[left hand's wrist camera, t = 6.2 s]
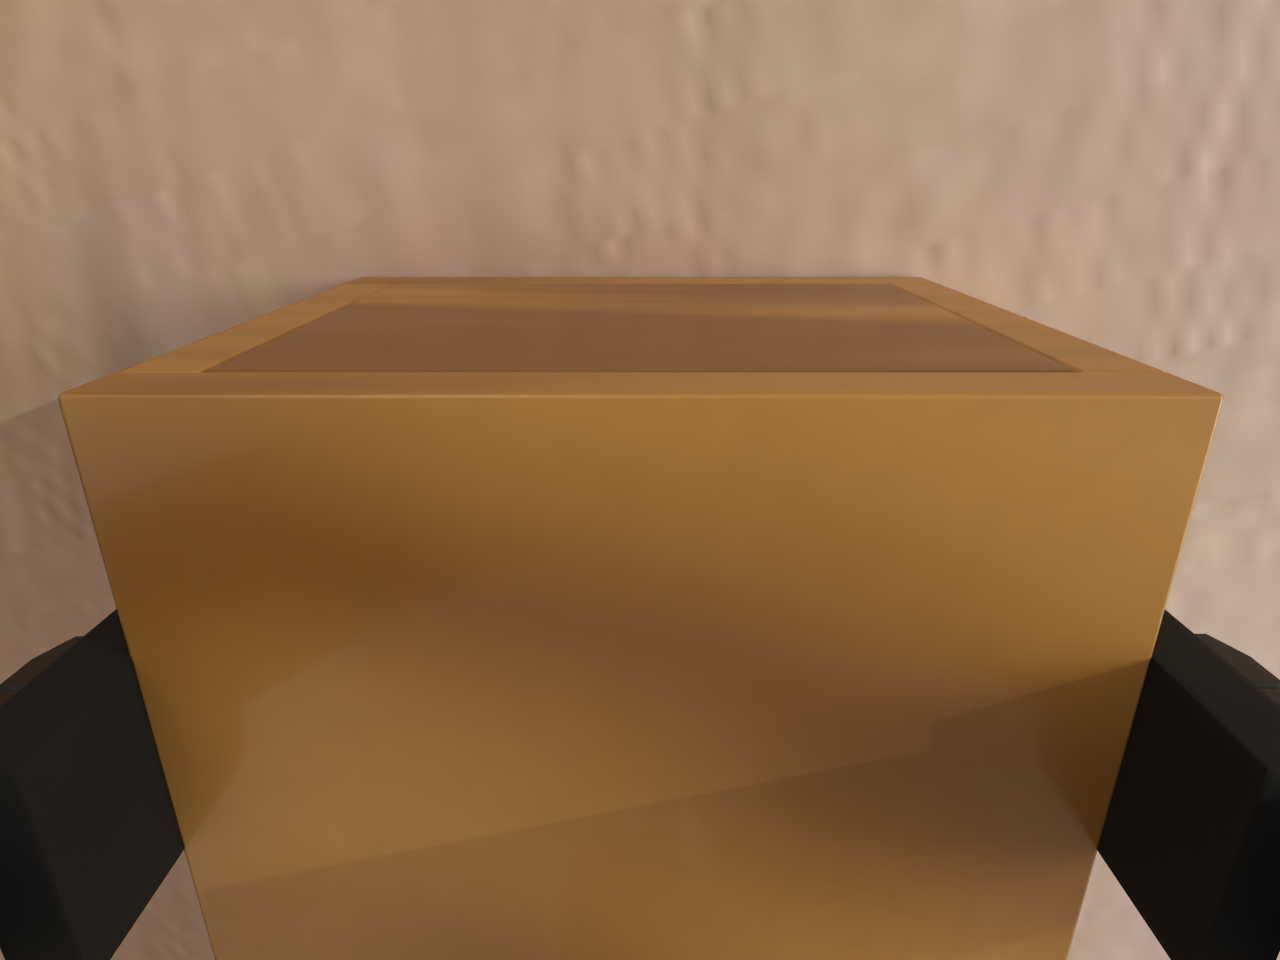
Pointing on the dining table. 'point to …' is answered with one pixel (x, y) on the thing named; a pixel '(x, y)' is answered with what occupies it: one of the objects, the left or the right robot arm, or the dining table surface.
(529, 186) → the dining table surface
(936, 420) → the cabinet
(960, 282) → the dining table surface
